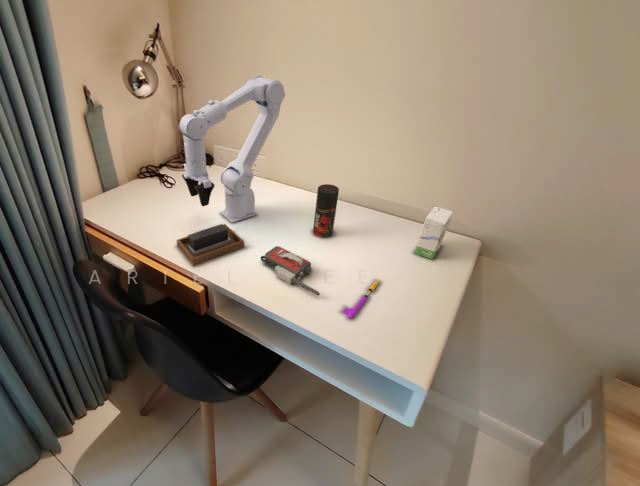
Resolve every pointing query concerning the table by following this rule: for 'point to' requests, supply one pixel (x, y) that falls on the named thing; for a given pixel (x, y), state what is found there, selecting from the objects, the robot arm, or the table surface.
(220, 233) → the dark grey eraser block
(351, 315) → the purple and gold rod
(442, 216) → the ink box
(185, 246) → the tray
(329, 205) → the deodorant
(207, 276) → the table surface
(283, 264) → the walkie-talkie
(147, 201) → the table surface
